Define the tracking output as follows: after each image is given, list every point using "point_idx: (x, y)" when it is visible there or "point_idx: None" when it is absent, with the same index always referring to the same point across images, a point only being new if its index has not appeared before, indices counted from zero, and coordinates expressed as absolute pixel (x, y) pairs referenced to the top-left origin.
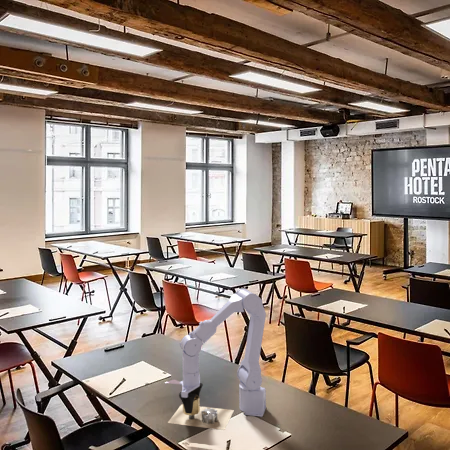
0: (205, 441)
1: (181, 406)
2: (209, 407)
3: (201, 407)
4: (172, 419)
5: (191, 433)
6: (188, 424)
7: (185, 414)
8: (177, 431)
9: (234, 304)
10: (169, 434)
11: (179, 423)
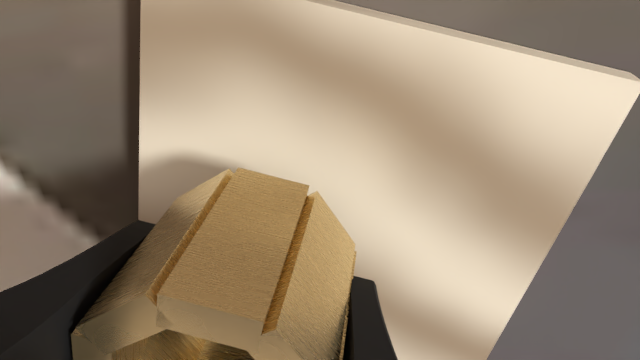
0: (12, 285)
1: (573, 90)
2: (489, 351)
3: (502, 292)
4: (226, 13)
5: (81, 199)
6: (154, 187)
7: (177, 198)
8: (77, 81)
9: None
10: (3, 7)
11: (157, 102)
